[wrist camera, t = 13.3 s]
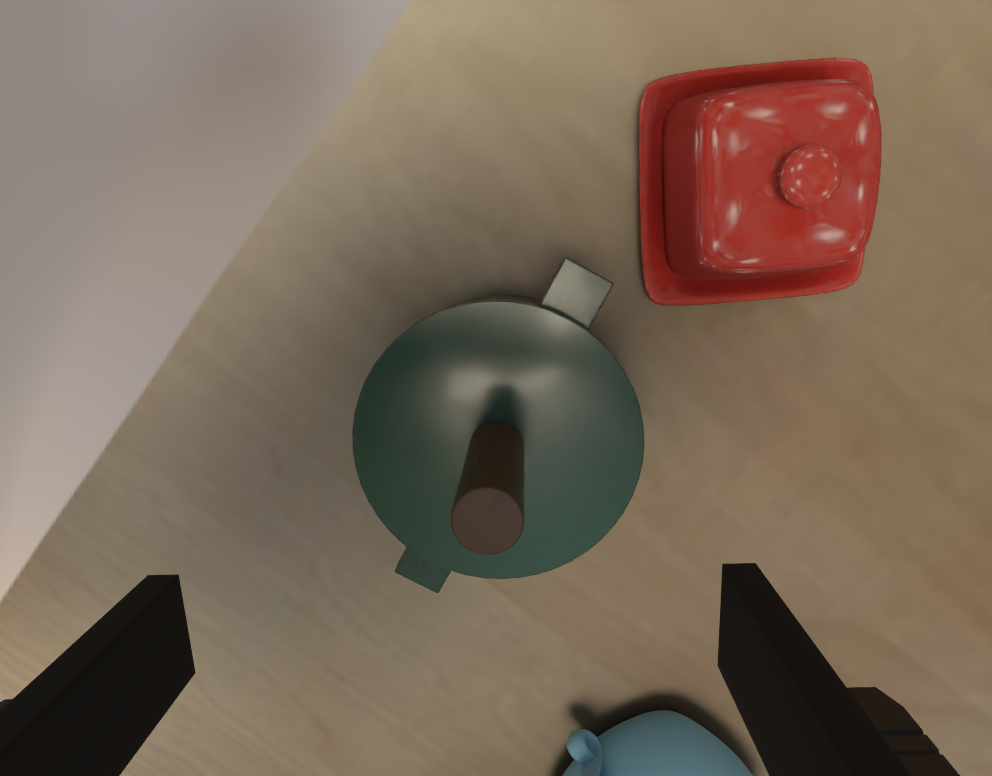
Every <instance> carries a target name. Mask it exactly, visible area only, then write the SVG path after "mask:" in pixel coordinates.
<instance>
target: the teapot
mask: <svg viewBox="0 0 992 776" xmlns="http://www.w3.org/2000/svg"><path fill="white" fill-rule="evenodd" d="M567 749H568V751H569V753H570V755H571V756H572V757H573V759H574V761H573V762H572V763H571V764H570V766H569V767H568V768H567V770H566V771H565V772H564V774H563V775H562V776H753V775H752V773H751V772H750V771H749V770H748V768H747V767H746V766H745V765H744V763H743V762H742V761H741V760H740V759H739V758H738V757H737V755H736V754H735V753H734V752H733V751H732V750H731V749H730V748H729V747H727V746H726V745H725V744H724V743H723V742H722V741H721V740H719V739H718V738H717V737H716V736H714V735H713V734H712V733H710V732H709V731H708V730H707V729H705V728H704V727H702V726H701V725H699V724H698V723H696V722H695V721H693V720H691V719H690V718H688V717H686V716H684V715H682V714H679V713H677V712H674V711H669V710H657V711H651V712H647V713H644V714H641V715H638V716H635V717H633V718H631V719H628V720H626V721H624V722H622V723H620V724H618V725H616V726H614V727H612V728H610V729H609V730H607V731H605V732H604V733H602V734H601V735H599V736H598V737H596V736H595V735H594V734H593V733H592V732H590V731H588V730H585V729H578V730H576V731H574V732H572V733H571V734H570V736H569V738H568V740H567Z"/></svg>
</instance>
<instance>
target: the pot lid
mask: <svg viewBox="0 0 992 776" xmlns="http://www.w3.org/2000/svg"><path fill="white" fill-rule="evenodd" d="M643 452H644V429H643V421H642V416H641V411H640V406H639V403H638V400H637V397H636V395H635V392H634V389H633V387H632V385H631V383H630V381H629V379H628V377H627V375H626V373H625V371H624V370H623V368H622V367H621V365H620V364H619V363H618V361H617V360H616V358H615V357H614V355H613V354H612V353H611V352H610V351H609V350H608V349H607V348H606V346H605V345H604V344H603V343H602V342H601V341H600V340H599V339H598V338H597V337H595V336H594V335H593V334H592V333H591V332H589V331H588V330H587V329H586V328H585V327H583V326H581V325H580V324H578V323H577V322H575V321H573V320H572V319H570V318H569V317H567V316H565V315H562V314H560V313H558V312H556V311H554V310H551V309H549V308H545V307H542V306H539V305H536V304H532V303H527V302H521V301H515V300H499V299H489V300H479V301H471V302H467V303H463V304H458V305H454V306H451V307H448V308H446V309H443V310H441V311H438V312H435V313H433V314H432V315H430V316H428V317H426V318H424V319H422V320H421V321H419V322H417V323H416V324H414V325H413V326H412V327H410V328H409V329H408V330H406V331H405V332H404V333H402V334H401V335H400V336H399V337H398V338H397V339H396V340H395V341H394V342H393V343H392V344H391V345H390V346H389V347H388V348H387V349H386V350H385V351H384V353H383V354H382V355H381V356H380V358H379V359H378V360H377V361H376V363H375V364H374V366H373V368H372V370H371V371H370V373H369V375H368V377H367V378H366V380H365V383H364V385H363V388H362V390H361V393H360V395H359V398H358V402H357V406H356V410H355V414H354V423H353V453H354V459H355V465H356V470H357V473H358V476H359V480H360V483H361V486H362V488H363V490H364V493H365V495H366V497H367V499H368V501H369V503H370V505H371V506H372V508H373V509H374V511H375V513H376V514H377V516H378V517H379V519H380V520H381V521H382V522H383V524H384V525H385V526H386V527H387V528H388V530H389V531H390V532H391V533H392V534H393V535H394V536H395V537H396V538H397V539H398V540H400V541H401V542H402V543H403V544H404V545H405V546H407V547H408V548H409V549H411V550H412V551H413V552H415V553H416V554H418V555H419V556H421V557H423V558H425V559H426V560H428V561H430V562H432V563H434V564H436V565H438V566H441V567H443V568H445V569H448V570H451V571H454V572H458V573H461V574H464V575H469V576H475V577H481V578H495V579H507V578H520V577H526V576H531V575H536V574H540V573H543V572H546V571H549V570H552V569H555V568H557V567H560V566H562V565H564V564H566V563H568V562H570V561H572V560H574V559H575V558H577V557H579V556H580V555H582V554H583V553H585V552H587V551H588V550H589V549H590V548H592V547H593V546H594V545H595V544H597V543H598V542H599V541H600V540H601V539H602V538H603V537H604V536H605V535H606V534H607V533H608V532H609V531H610V530H611V529H612V528H613V526H614V525H615V524H616V522H617V521H618V520H619V518H620V517H621V515H622V514H623V513H624V511H625V509H626V507H627V505H628V503H629V502H630V500H631V498H632V496H633V493H634V491H635V488H636V485H637V483H638V480H639V476H640V471H641V467H642V463H643Z"/></svg>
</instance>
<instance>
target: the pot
mask: <svg viewBox="0 0 992 776" xmlns="http://www.w3.org/2000/svg"><path fill="white" fill-rule="evenodd" d="M613 285H614V284H613V283H612V282H610V281H609V280H607V279H605V278H603V277H601V276H599V275H598V274H596V273H594V272H592V271H590V270H588V269H587V268H585V267H583V266H581V265H579V264H577V263H576V262H574V261H572V260H570V259H568V258H566V257H564V258H563V259H562V261H561V263H560V265H559V267H558V269H557V270H556V272H555V274H554V276H553V278H552V280H551V281H550V283H549V285H548V287H547V289H546V291H545V293H544V294H543V296H542V298H541V300H540V301H538V300H536V299H533V298H526V297H520V296H514V295H496V294H493V295H487V296H484V297H480V298H476V299H472V300H469V301H467V302H471V301H479V300H489V299H499V300H515V301H521V302H527V303H532V304H536V305H539V306H542V307H545V308H549V309H551V310H554V311H556V312H558V313H560V314H562V315H565V316H567V317H569V318H570V319H572V320H573V321H575V322H577V323H578V324H580V325H581V326H583V327H585V328H586V329H587V330H588V329H589V327H590V325H591V324H592V322H593V320H594V318H595V317H596V315H597V313H598V311H599V310H600V308H601V306H602V304H603V303H604V301H605V299H606V297H607V295H608V294H609V292H610V290H611V288H612V287H613ZM467 302H464V303H467ZM461 304H463V303H461ZM395 572H396V573H398V574H400V575H402V576H404V577H406V578H408V579H410V580H412V581H414V582H416V583H418V584H420V585H422V586H424V587H426V588H428V589H430V590H432V591H434V592H436V593H438V592H439V591H440V589H441V587H442V586H443V584H444V582H445V580H446V579H447V577H448V575H449V573H450V572H451V570H448V569H445V568H443V567H441V566H438V565H436V564H434V563H432V562H430V561H428V560H426V559H425V558H423V557H421V556H419V555H418V554H416V553H415V552H413V551H412V550H411V549H409V548H408V547H406V549H405V550H404V552H403V554H402V556H401V558H400V560H399V561H398V564H397V567H396V569H395Z"/></svg>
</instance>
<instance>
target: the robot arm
mask: <svg viewBox="0 0 992 776" xmlns="http://www.w3.org/2000/svg"><path fill="white" fill-rule="evenodd" d="M718 667H719V669H720V672H721V674H722V676H723V678H724V680H725V682H726V684H727V687H728V689H729V691H730V693H731V695H732V697H733V699H734V701H735V704H736V706H737V708H738V710H739V712H740V714H741V716H742V718H743V721H744V723H745V725H746V727H747V729H748V731H749V733H750V736H751V738H752V740H753V742H754V744H755V746H756V748H757V750H758V753H759V755H760V757H761V759H762V761H763V763H764V765H765V767H766V770H767V772H768V774H769V776H960V775H959V774H958V773H957V772H956V770H955V769H954V768H953V767H952V765H951V764H950V763H949V762H948V761H947V759H946V758H945V757H944V756H943V755H940V754H939V750H938V748H937V747H936V746H935V745H934V744H933V742H932V741H931V740H930V739H929V738H928V736H927V735H924V734H923V730H922V729H921V728H920V727H919V725H918V724H917V723H916V722H915V721H914V719H913V718H912V717H911V716H910V714H909V713H908V712H907V711H906V710H905V708H904V707H903V706H901V705H900V704H898V703H897V702H896V701H894V700H893V699H891V698H890V697H889V696H887V695H886V694H884V693H883V692H882V691H880V690H879V689H877V688H876V687H852V688H846V686H845V685H844V684H843V682H842V681H841V679H840V678H839V677H838V675H837V674H836V673H835V671H834V670H833V668H832V667H831V666H830V664H829V663H828V662H827V660H826V659H825V658H824V656H823V655H822V653H821V652H820V651H819V649H818V648H817V647H816V645H815V644H814V643H813V641H812V640H811V638H810V637H809V636H808V634H807V633H806V632H805V630H804V629H803V628H802V626H801V625H800V623H799V622H798V621H797V619H796V618H795V617H794V615H793V614H792V613H791V611H790V610H789V608H788V607H787V606H786V604H785V603H784V602H783V600H782V599H781V597H780V596H779V595H778V593H777V592H776V591H775V589H774V588H773V587H772V585H771V584H770V582H769V581H768V580H767V578H766V577H765V576H764V574H763V573H762V572H761V570H760V569H759V567H758V566H757V565H756V563H742V564H722V585H721V606H720V627H719V649H718ZM194 674H195V668H194V662H193V656H192V650H191V644H190V638H189V633H188V627H187V621H186V615H185V609H184V603H183V597H182V592H181V586H180V580H179V575H148V576H147V577H146V578H144V579H143V580H142V581H141V582H140V583H139V584H138V585H137V586H136V587H135V588H134V589H132V590H131V591H130V592H129V593H128V594H127V595H126V596H125V597H124V598H123V599H122V600H120V601H119V602H118V603H117V604H116V605H115V606H114V607H113V608H112V609H111V610H110V611H108V612H107V613H106V614H105V615H104V616H103V617H102V618H101V619H100V620H99V621H98V622H96V623H95V624H94V625H93V626H92V627H91V628H90V629H89V630H88V631H87V632H85V633H84V634H83V635H82V636H81V637H80V638H79V639H78V640H77V641H76V642H75V643H73V644H72V645H71V646H70V647H69V648H68V649H67V650H66V651H65V652H64V653H63V654H61V655H60V656H59V657H58V658H57V659H56V660H55V661H54V662H53V663H52V664H51V665H49V666H48V667H47V668H46V669H45V670H44V671H43V672H42V673H41V674H40V675H39V676H37V677H36V678H35V679H34V680H33V681H32V682H31V683H30V684H29V685H28V686H27V687H25V688H24V689H23V690H22V691H21V692H20V693H19V694H18V695H17V696H16V697H15V698H13V699H5V700H3V701H2V702H0V776H119V775H120V774H121V773H122V771H123V770H124V769H125V767H126V766H127V765H128V763H129V762H130V760H131V759H132V758H133V756H134V755H135V754H136V752H137V751H138V750H139V748H140V747H141V746H142V744H143V743H144V742H145V740H146V739H147V737H148V736H149V735H150V733H151V732H152V731H153V729H154V728H155V727H156V725H157V724H158V723H159V721H160V720H161V719H162V717H163V716H164V714H165V713H166V712H167V710H168V709H169V708H170V706H171V705H172V704H173V702H174V701H175V700H176V698H177V697H178V695H179V694H180V693H181V691H182V690H183V689H184V687H185V686H186V685H187V683H188V682H189V681H190V679H191V678H192V677H193V675H194Z"/></svg>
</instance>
